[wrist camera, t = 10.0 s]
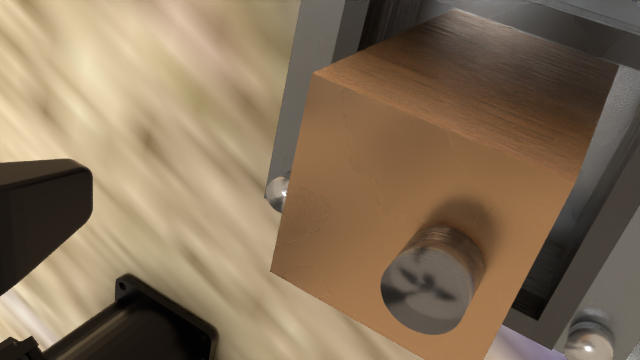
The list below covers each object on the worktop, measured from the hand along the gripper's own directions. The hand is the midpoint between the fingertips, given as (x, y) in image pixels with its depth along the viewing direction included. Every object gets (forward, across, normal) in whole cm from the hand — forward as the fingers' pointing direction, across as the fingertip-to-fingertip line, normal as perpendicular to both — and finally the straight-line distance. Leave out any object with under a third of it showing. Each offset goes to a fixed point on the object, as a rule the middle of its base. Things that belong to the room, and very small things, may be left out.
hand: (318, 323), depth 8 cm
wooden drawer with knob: (+11, 0, 0) cm, 11 cm away
